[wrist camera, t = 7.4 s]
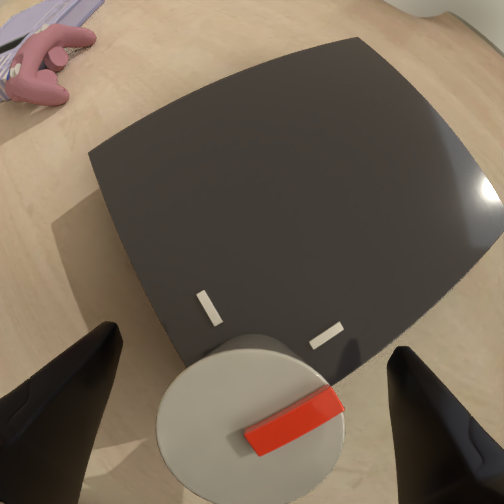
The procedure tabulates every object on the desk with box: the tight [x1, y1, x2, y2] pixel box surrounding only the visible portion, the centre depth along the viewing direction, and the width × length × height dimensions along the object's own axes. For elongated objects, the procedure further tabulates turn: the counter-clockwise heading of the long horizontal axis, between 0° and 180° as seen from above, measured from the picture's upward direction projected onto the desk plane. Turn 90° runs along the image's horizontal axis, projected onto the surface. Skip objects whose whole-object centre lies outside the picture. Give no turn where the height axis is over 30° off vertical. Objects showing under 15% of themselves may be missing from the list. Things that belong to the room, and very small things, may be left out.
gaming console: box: [0, 0, 105, 102], centre depth 21 cm, size 18×4×20 cm
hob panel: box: [88, 37, 504, 386], centre depth 14 cm, size 20×17×4 cm
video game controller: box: [5, 23, 96, 106], centre depth 17 cm, size 10×5×7 cm, turn 2°
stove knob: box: [156, 334, 345, 504], centre depth 7 cm, size 4×4×6 cm
